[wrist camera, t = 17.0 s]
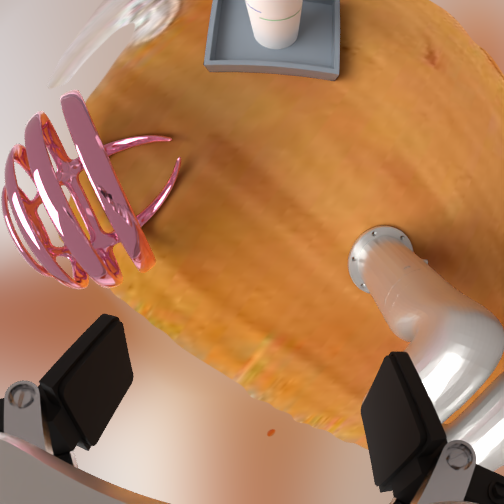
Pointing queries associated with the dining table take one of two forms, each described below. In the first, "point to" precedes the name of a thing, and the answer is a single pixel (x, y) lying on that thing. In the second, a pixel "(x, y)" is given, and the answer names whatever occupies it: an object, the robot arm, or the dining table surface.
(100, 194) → the spiral basket
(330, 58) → the tray
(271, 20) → the cylindrical container
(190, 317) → the dining table surface
